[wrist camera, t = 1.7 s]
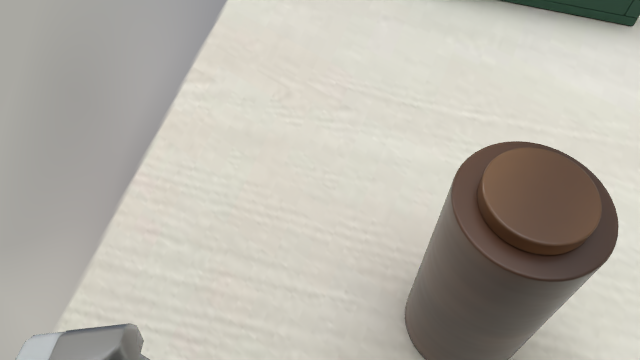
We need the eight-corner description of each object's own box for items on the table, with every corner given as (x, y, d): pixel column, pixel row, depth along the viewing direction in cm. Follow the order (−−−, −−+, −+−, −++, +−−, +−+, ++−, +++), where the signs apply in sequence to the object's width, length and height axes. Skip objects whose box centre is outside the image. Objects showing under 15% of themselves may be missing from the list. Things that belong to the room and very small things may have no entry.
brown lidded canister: (394, 357, 22) (443, 242, 14) (416, 257, 24) (468, 112, 17) (511, 392, 21) (632, 292, 13) (521, 286, 24) (628, 149, 16)
